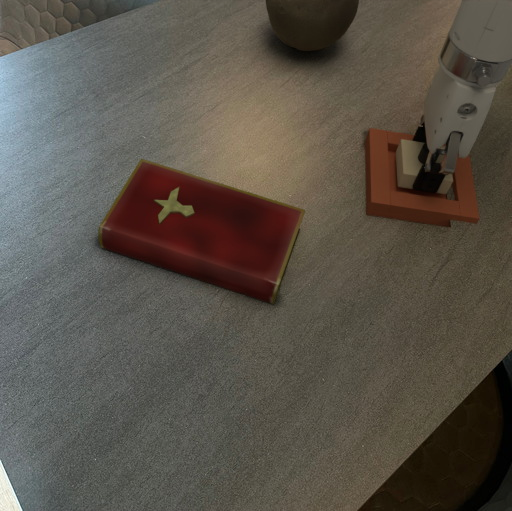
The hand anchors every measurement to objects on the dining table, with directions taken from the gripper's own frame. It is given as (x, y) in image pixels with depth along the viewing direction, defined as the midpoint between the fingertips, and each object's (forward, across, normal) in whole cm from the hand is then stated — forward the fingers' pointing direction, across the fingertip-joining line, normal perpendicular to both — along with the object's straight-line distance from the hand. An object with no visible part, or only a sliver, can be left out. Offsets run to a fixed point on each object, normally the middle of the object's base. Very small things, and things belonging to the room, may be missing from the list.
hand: (422, 169), depth 83 cm
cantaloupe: (+3, +27, +17) cm, 32 cm away
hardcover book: (+3, -15, +27) cm, 31 cm away
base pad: (+3, 0, 0) cm, 3 cm away
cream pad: (+1, 0, 0) cm, 1 cm away
